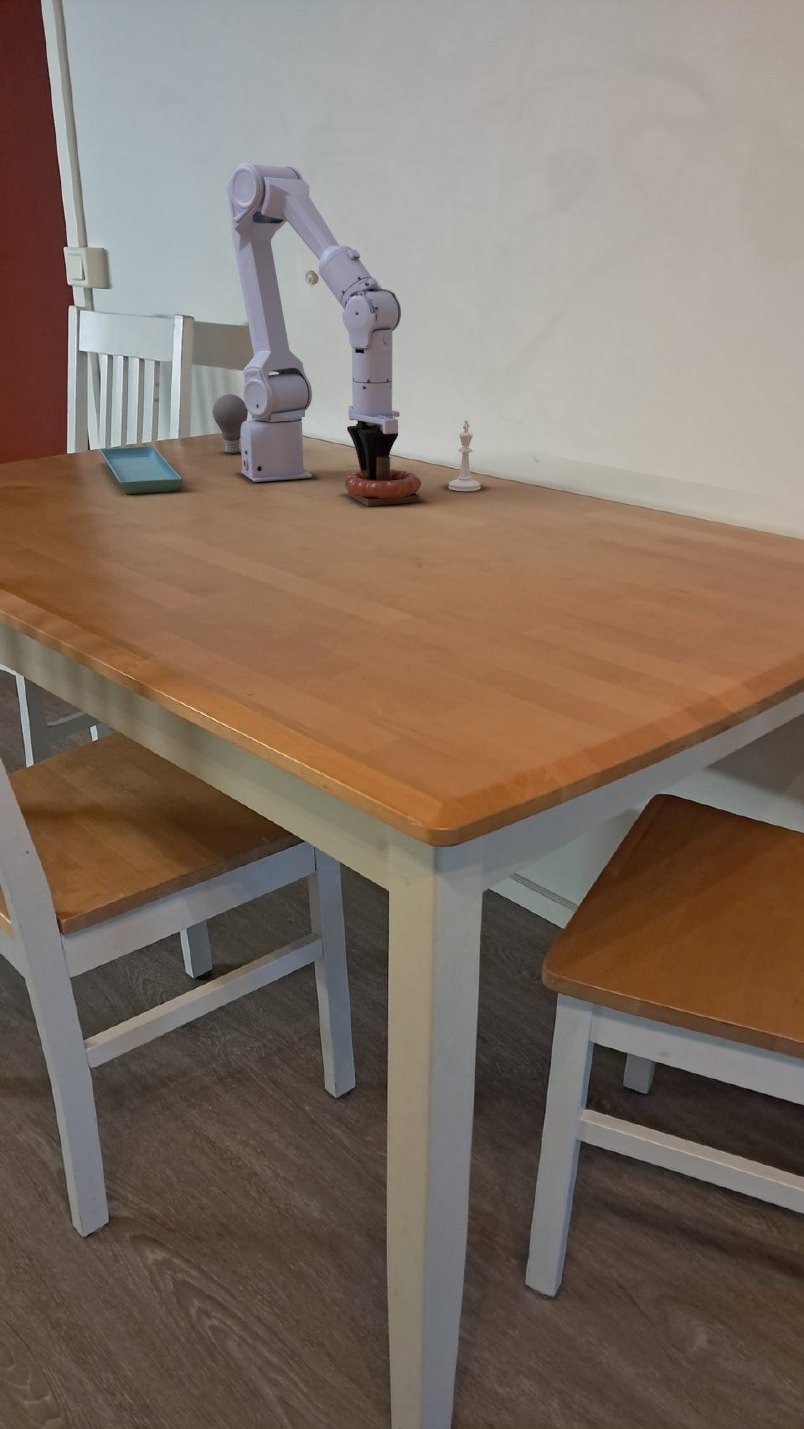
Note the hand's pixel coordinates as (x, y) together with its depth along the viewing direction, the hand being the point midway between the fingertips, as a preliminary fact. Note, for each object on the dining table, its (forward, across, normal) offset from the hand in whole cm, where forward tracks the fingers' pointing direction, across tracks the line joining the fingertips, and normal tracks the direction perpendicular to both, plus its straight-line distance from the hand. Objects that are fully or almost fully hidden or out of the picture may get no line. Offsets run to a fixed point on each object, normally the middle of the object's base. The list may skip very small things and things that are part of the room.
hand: (372, 476), depth 158 cm
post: (+2, -4, 0) cm, 5 cm away
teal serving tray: (+3, +24, +30) cm, 38 cm away
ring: (0, -4, 0) cm, 4 cm away
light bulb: (+3, +39, +11) cm, 40 cm away
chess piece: (+3, -2, -14) cm, 15 cm away
